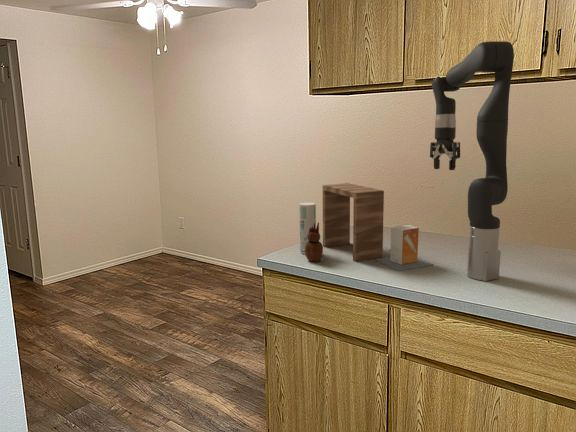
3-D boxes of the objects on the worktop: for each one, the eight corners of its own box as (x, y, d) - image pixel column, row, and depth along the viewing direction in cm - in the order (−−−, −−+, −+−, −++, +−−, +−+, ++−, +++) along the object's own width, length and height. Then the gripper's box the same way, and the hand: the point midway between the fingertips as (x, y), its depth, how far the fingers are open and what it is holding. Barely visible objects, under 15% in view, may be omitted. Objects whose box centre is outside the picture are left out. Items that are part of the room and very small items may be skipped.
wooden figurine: (325, 260, 187) (325, 221, 184) (316, 263, 183) (315, 224, 180) (312, 257, 191) (311, 219, 188) (302, 260, 187) (301, 222, 184)
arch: (382, 257, 189) (383, 190, 184) (355, 261, 184) (356, 193, 179) (347, 242, 212) (347, 183, 207) (322, 246, 207) (322, 185, 202)
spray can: (318, 253, 196) (318, 204, 192) (303, 255, 194) (302, 205, 190) (312, 249, 202) (312, 201, 198) (297, 251, 200) (296, 203, 196)
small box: (401, 265, 178) (402, 230, 175) (389, 261, 183) (390, 227, 180) (418, 261, 182) (419, 227, 179) (405, 257, 187) (406, 224, 184)
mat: (433, 265, 179) (433, 264, 178) (399, 270, 172) (399, 269, 172) (407, 255, 192) (407, 254, 192) (375, 260, 186) (375, 259, 186)
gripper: (425, 127, 191) (424, 169, 194) (450, 126, 178) (449, 170, 181) (440, 127, 194) (439, 168, 196) (466, 125, 181) (465, 170, 183)
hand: (444, 169), depth 189 cm, fingers open, 8 cm apart
